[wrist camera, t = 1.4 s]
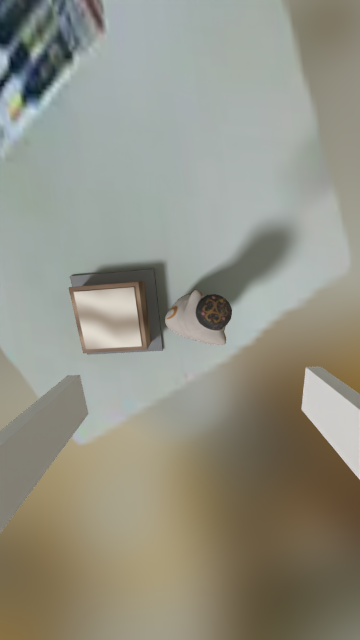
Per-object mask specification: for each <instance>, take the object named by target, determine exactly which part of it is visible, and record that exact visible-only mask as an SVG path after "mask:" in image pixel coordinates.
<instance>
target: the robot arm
mask: <svg viewBox="0 0 360 640" xmlns="http://www.w3.org/2000/svg"><path fill="white" fill-rule="evenodd" d="M302 410H303V412H304V413H305V414H306V415H307V416H308V418H309V419H310V420H311V421H312V423H313V424H314V425H315V426H316V427H317V429H318V430H319V431H320V432H321V433H322V435H323V436H324V437H325V438H326V439H327V441H328V442H329V443H330V444H331V445H332V447H333V448H334V449H335V450H336V451H337V453H338V454H339V455H340V456H341V457H342V458H343V460H344V461H345V462H346V464H348V466H349V467H350V468H351V470H352V471H353V472H354V473H355V474H356V476H357V477H358V478H359V479H360V394H359V393H357V392H356V391H354V390H353V389H352V388H350V387H349V386H347V385H346V384H344V383H343V382H342V381H340V380H338V379H337V378H336V377H335V376H333V375H332V374H330V373H329V372H327V371H326V370H325V369H323V368H322V367H306V371H305V381H304V392H303V400H302ZM87 415H88V410H87V405H86V401H85V396H84V392H83V387H82V383H81V378H80V375H71V376H67V377H65V378H64V379H63V380H62V381H61V382H59V383H58V384H57V385H56V386H54V387H53V388H52V389H51V390H50V391H48V392H47V393H46V394H45V395H43V396H42V397H41V398H40V399H39V400H37V401H36V402H35V403H34V404H32V405H31V406H30V407H29V408H28V409H26V410H25V411H24V412H23V413H21V414H20V415H19V416H18V417H17V418H15V419H14V420H13V421H12V422H10V423H9V424H8V425H7V426H6V427H4V428H3V429H2V430H1V431H0V533H1V532H2V530H3V529H4V528H5V526H6V525H7V524H8V522H9V521H10V519H11V518H12V517H13V515H14V514H15V513H16V511H17V510H18V509H19V507H20V506H21V505H22V503H23V502H24V500H25V499H26V498H27V496H28V495H29V494H30V492H31V491H32V490H33V488H34V487H35V486H36V484H37V483H38V481H39V480H40V479H41V477H42V476H43V474H44V473H45V472H46V471H47V469H48V468H49V466H50V465H51V464H52V462H53V461H54V460H55V458H56V457H57V455H58V454H59V453H60V452H61V450H62V449H63V448H64V446H65V445H66V443H67V442H68V441H69V439H70V438H71V437H72V435H73V434H74V433H75V431H76V430H77V429H78V427H79V426H80V424H81V423H82V422H83V420H84V419H85V418H86V416H87Z"/></svg>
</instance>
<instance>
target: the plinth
mask: <svg viewBox="0 0 360 640" xmlns="http://www.w3.org/2000/svg"><path fill="white" fill-rule="evenodd" d="M69 291H70V296H71V300H72V305H73V309H74V314H75V318H76V323H77V327H78V332H79V336H80V341H81V345H82V350H83V353H96V352H115V351H134V350H147V349H148V347H149V346H150V344H151V342H152V340H151V332H150V324H149V316H148V308H147V300H146V292H145V284H144V281H138V282H126V283H113V284H101V285H88V286H77V287H69Z"/></svg>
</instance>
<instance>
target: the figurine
mask: <svg viewBox="0 0 360 640" xmlns="http://www.w3.org/2000/svg"><path fill="white" fill-rule="evenodd" d="M231 315H232V309H231V306H230V304H229V303H228V302H227V300H226V299H225V298H223V297H221V296H219V295H207V296H204V295H203V294H202V293H201V292H200V291H198V290H194V291H193V292H192V294H191V295H185V296H183V297H181V298H180V299H178V301H177V302H176V303H175V304H174V305H173V306H172V308H171V309H170V310H169V311H168V313H167V315H166V317H165V323H166V325H167V327H168V328H169V329H170V330H172V331H174V332H176V333H177V334H178V335H180V336H182V337H185V338H189V339H193V340H197V341H200V342H203V343H206V344H215V345H223V344H225V343H226V337H225V334H224V330H225V326H226V325H227V324H228V322H229V321H230V319H231Z"/></svg>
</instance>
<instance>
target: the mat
mask: <svg viewBox="0 0 360 640" xmlns="http://www.w3.org/2000/svg"><path fill="white" fill-rule="evenodd" d="M70 279H71V284H72V287H77V286H88V285H101V284H113V283H126V282H138V281H144V284H145V292H146V300H147V308H148V316H149V324H150V332H151V340H152V342H151V344H150V346H149V347H148V349H147V350H134V351H115V352H96V353H87V354H106V353H125V352H144V351H163V347H162V338H161V329H160V319H159V310H158V301H157V292H156V283H155V274H154V269H147V270H136V271H124V272H112V273H100V274H88V275H76V276H70Z"/></svg>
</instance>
